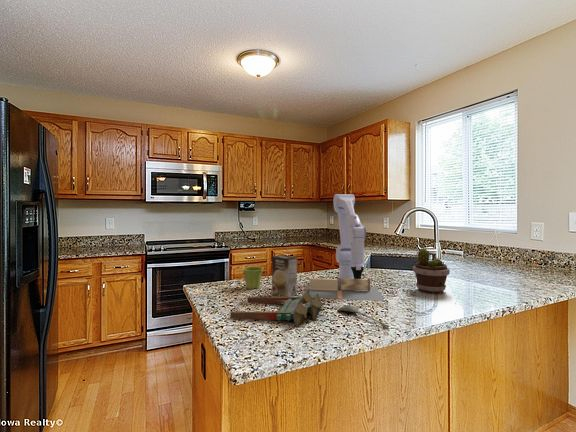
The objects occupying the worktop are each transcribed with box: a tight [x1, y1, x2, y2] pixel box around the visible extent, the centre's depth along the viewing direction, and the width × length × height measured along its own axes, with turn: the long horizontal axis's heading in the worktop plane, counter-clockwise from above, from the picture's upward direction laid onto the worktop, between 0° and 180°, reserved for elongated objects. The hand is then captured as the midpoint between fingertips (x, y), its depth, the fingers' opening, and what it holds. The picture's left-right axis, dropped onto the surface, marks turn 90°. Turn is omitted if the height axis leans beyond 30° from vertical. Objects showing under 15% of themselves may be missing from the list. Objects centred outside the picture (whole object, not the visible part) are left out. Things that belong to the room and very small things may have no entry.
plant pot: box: [242, 266, 264, 290], centre depth 145 cm, size 9×9×9 cm
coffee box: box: [271, 254, 298, 297], centre depth 133 cm, size 9×6×16 cm
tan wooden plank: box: [341, 278, 371, 291], centre depth 138 cm, size 12×1×5 cm, turn 82°
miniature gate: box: [229, 289, 326, 329], centre depth 111 cm, size 27×6×30 cm
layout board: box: [301, 276, 386, 302], centre depth 135 cm, size 22×32×6 cm
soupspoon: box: [337, 304, 390, 330], centre depth 105 cm, size 22×3×7 cm
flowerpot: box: [412, 246, 451, 295], centre depth 140 cm, size 14×15×20 cm
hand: (357, 283), depth 143 cm, fingers closed
